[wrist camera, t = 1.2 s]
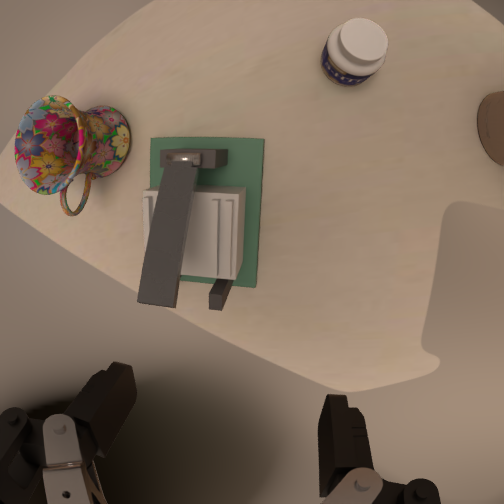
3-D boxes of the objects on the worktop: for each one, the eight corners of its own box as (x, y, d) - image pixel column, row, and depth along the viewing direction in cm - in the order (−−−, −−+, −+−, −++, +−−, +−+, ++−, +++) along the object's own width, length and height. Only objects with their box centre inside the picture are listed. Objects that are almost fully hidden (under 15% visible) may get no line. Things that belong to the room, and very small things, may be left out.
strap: (202, 157, 26) (199, 150, 25) (176, 308, 22) (172, 306, 21) (171, 157, 26) (167, 151, 25) (141, 303, 23) (136, 301, 22)
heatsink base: (264, 139, 31) (256, 136, 24) (256, 284, 36) (247, 319, 29) (154, 138, 32) (118, 137, 25) (157, 274, 37) (128, 304, 30)
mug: (69, 116, 32) (10, 115, 22) (131, 93, 31) (76, 80, 21) (83, 207, 36) (27, 229, 26) (146, 194, 34) (95, 215, 24)
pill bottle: (314, 76, 28) (323, 52, 20) (327, 35, 27) (339, 1, 18) (362, 94, 28) (387, 78, 20) (374, 53, 27) (401, 26, 18)
